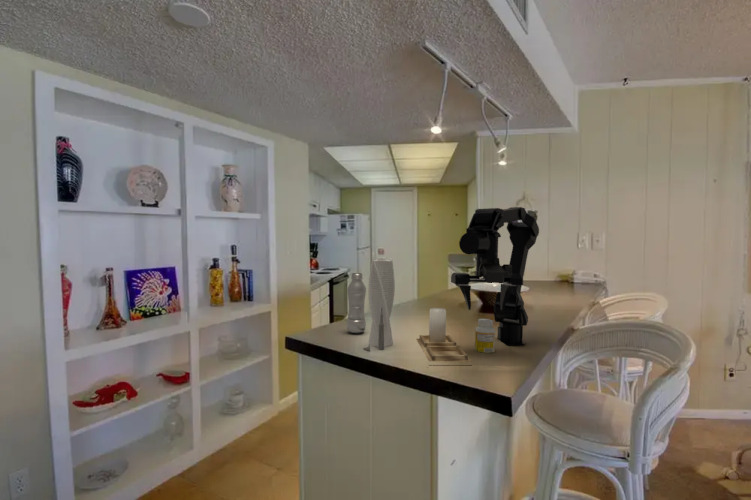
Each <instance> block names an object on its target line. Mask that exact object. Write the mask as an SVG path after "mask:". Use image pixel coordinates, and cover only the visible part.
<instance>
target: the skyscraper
mask: <svg viewBox="0 0 751 500" xmlns="http://www.w3.org/2000/svg"><path fill="white" fill-rule="evenodd" d="M371 253H372V254H371V264H370V265H371V266H370V269H369V271H370V272H369V278H368V301H369V304H368V305H369V310H370V315H371V319H372V320H371V326H370V332H369V339H368V342H367V343H368V344H367V346H365V347H364V348H362V349H363V351H367V352H371V346H372V347H373V346H374V347H377V350H379V351H384V350H385V348H387V347H390V346H394V341H393V334H392V327H391V320H390V318H391V315H392V311H393V306H394V302H395V301H394V300H395V286H396V285H395V272H394V270H395V269H394V263H393V258H392V257H389V259H387V257H383V256H379V257H376V259H375V252H374V251H372V252H371Z"/></svg>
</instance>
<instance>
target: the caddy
mask: <svg viewBox="0 0 751 500" xmlns="http://www.w3.org/2000/svg"><path fill="white" fill-rule="evenodd" d="M416 340H417V341H416V342H417V343H418V344H419V345H418V346H419V347H420V348H421V350H422V352H423V353H424V355H425V357H426V358H427V360H428V362H473V361H472V359H471V358H470V357H469V355H468V354H467V353H466V352H465V351H464V350H463V349H462V347H461V346H460V345H458V344H457V342H456V341H455V340H454V339H453V338H452V336H450V335H448V334H446V340H445V342H429V334H419V338H416ZM429 366H430V367H431V366H432V367H438V366H439V367H448V366H449V367H452V366H453V367H458V366H459V367H464V366H465V367H466V366H467V367H470V366H473V364H428V367H429Z"/></svg>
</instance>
